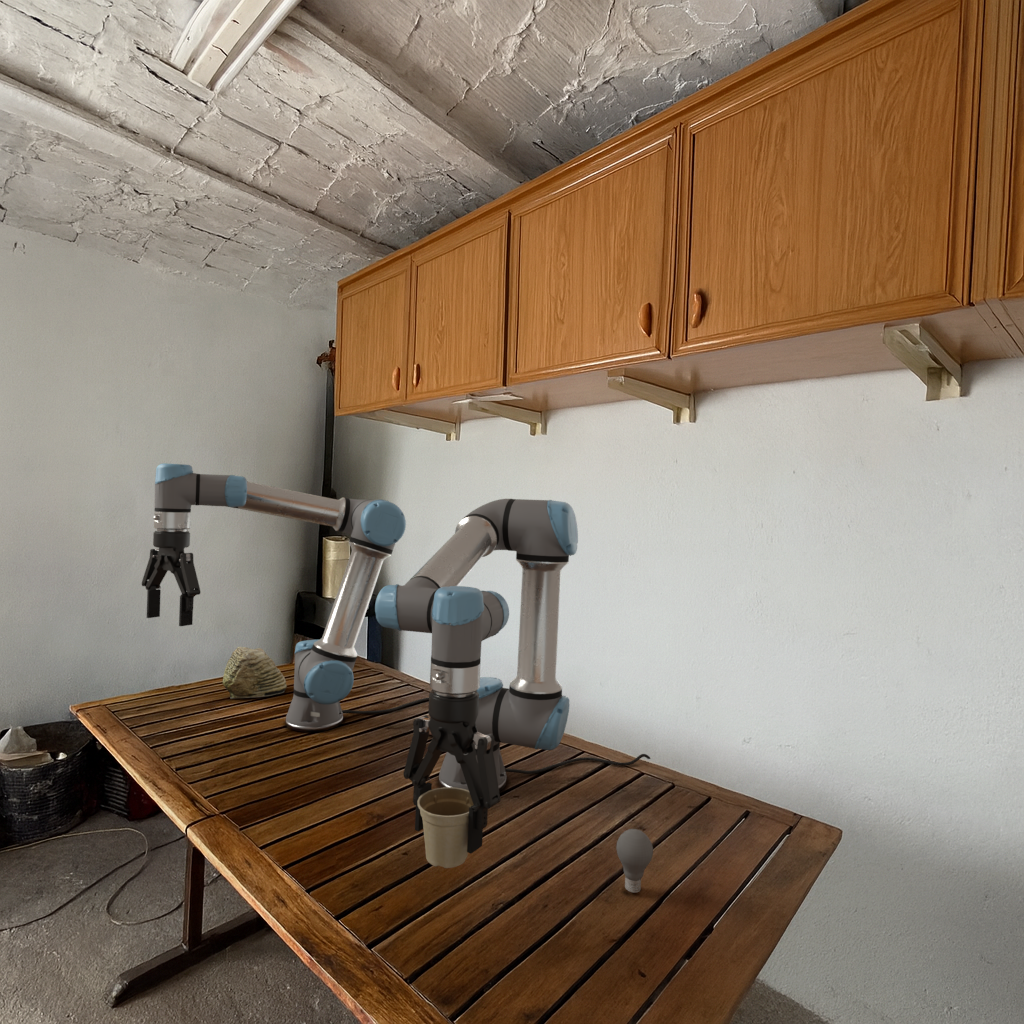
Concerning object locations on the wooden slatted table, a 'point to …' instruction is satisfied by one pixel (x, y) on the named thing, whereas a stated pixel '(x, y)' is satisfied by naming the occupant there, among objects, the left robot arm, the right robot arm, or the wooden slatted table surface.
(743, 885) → the wooden slatted table surface
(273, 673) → the fossil
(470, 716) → the right robot arm
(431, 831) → the plastic plant pot
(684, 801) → the wooden slatted table surface
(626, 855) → the light bulb
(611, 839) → the wooden slatted table surface
